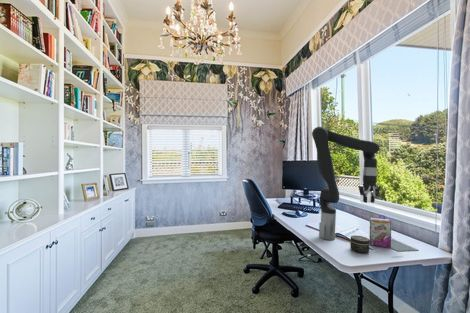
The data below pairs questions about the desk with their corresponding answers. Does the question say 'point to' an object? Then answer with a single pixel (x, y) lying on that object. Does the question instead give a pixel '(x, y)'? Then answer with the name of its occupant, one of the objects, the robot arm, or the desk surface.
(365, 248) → the jar
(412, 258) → the desk surface
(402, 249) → the mat
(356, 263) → the desk surface
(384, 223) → the candy bar box
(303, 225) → the desk surface
